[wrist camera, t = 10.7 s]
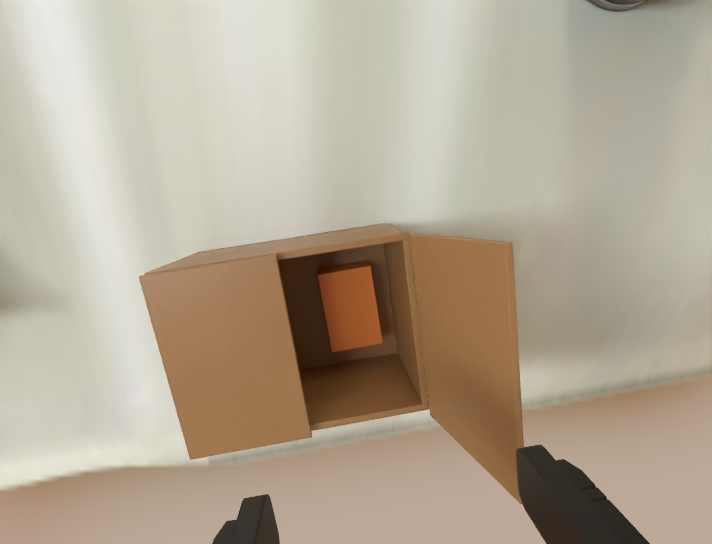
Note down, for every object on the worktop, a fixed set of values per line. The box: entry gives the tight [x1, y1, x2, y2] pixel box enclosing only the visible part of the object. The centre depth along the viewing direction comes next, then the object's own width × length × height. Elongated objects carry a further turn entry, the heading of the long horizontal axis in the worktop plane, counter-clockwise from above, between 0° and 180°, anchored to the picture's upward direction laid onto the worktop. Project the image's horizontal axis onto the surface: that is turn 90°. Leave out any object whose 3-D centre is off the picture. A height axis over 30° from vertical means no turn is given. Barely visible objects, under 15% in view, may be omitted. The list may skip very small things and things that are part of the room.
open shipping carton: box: [139, 223, 429, 459], centre depth 28 cm, size 17×13×10 cm
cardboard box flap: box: [409, 233, 524, 504], centre depth 20 cm, size 8×13×1 cm
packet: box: [317, 260, 383, 352], centre depth 32 cm, size 7×4×3 cm, turn 9°
